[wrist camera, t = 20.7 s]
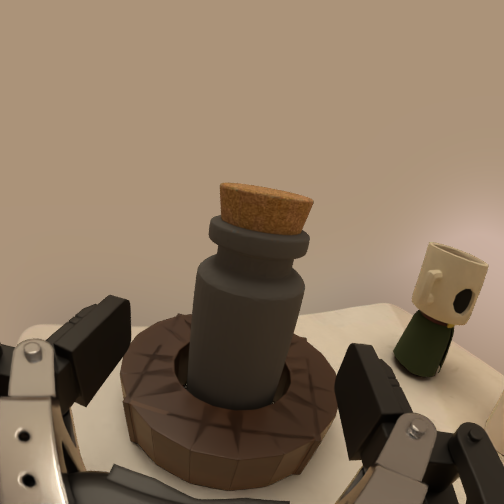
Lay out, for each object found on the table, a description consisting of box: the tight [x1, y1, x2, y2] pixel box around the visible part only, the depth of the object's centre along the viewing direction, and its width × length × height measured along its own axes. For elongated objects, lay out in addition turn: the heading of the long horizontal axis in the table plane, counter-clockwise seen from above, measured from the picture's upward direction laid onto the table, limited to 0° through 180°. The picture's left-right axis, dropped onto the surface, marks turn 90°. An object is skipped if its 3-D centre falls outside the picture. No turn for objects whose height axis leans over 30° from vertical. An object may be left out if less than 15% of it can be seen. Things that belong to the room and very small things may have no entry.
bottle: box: [187, 183, 314, 411], centre depth 16 cm, size 6×6×15 cm
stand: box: [120, 314, 338, 491], centre depth 18 cm, size 14×14×4 cm
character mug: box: [393, 242, 489, 377], centre depth 24 cm, size 11×7×13 cm, turn 113°
